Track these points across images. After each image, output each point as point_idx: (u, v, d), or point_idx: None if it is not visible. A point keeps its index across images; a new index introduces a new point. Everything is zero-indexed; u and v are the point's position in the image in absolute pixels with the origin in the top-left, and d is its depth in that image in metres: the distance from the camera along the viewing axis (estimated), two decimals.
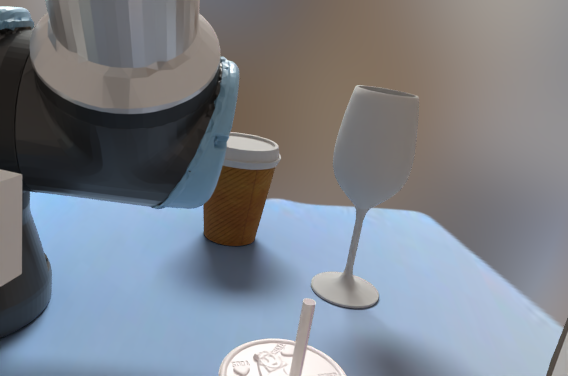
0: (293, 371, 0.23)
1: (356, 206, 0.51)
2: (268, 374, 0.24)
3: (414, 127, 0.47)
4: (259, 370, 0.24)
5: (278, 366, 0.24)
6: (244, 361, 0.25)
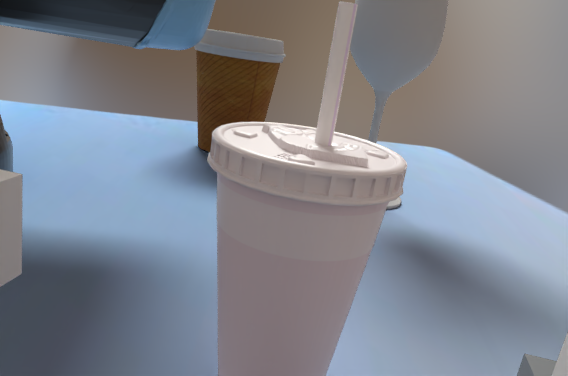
0: (322, 121, 0.16)
1: (376, 89, 0.43)
2: (285, 136, 0.16)
3: None
4: (271, 135, 0.17)
5: (298, 134, 0.17)
6: (249, 131, 0.17)
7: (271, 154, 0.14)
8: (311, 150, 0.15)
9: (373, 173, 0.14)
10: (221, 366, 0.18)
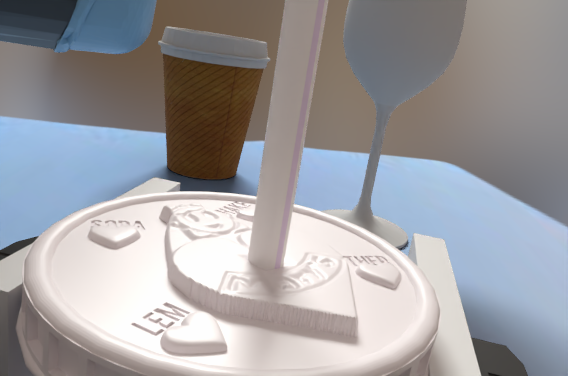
0: (260, 220, 0.07)
1: (377, 102, 0.35)
2: (189, 242, 0.08)
3: None
4: (166, 237, 0.08)
5: (224, 230, 0.09)
6: (132, 221, 0.09)
7: (131, 315, 0.06)
8: (228, 298, 0.07)
9: (368, 374, 0.06)
10: None
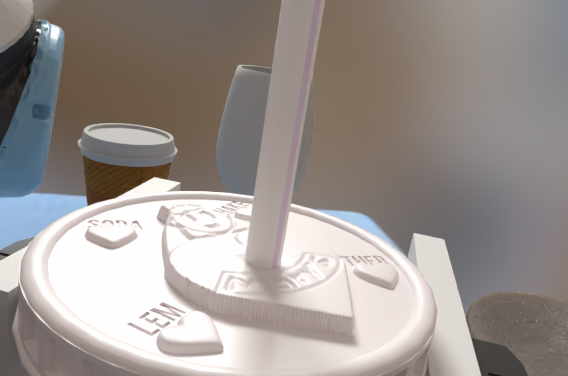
0: (257, 220, 0.07)
1: None
2: (186, 242, 0.08)
3: (306, 115, 0.39)
4: (164, 237, 0.08)
5: (221, 230, 0.09)
6: (129, 220, 0.09)
7: (127, 315, 0.06)
8: (225, 298, 0.07)
9: (365, 374, 0.06)
10: None
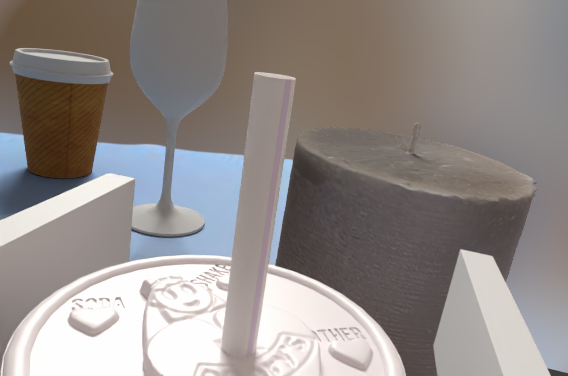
0: (232, 313, 0.08)
1: (163, 114, 0.42)
2: (165, 327, 0.08)
3: (214, 9, 0.39)
4: (144, 319, 0.09)
5: (201, 309, 0.09)
6: (112, 297, 0.09)
7: None
8: None
9: None
10: None
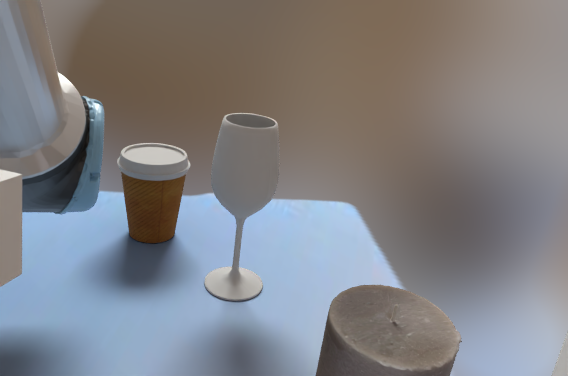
0: None
1: None
2: None
3: (271, 152, 0.55)
4: None
5: None
6: None
7: None
8: None
9: None
10: None
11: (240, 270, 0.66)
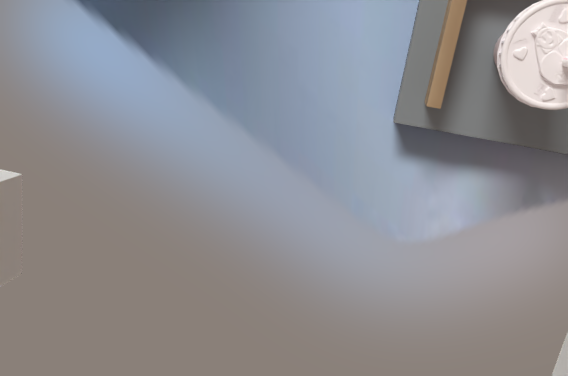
0: (566, 66, 0.28)
1: None
2: (544, 58, 0.29)
3: None
4: (536, 52, 0.29)
5: (554, 45, 0.29)
6: (522, 39, 0.29)
7: (533, 90, 0.30)
8: (555, 84, 0.29)
9: None
10: None
11: None
